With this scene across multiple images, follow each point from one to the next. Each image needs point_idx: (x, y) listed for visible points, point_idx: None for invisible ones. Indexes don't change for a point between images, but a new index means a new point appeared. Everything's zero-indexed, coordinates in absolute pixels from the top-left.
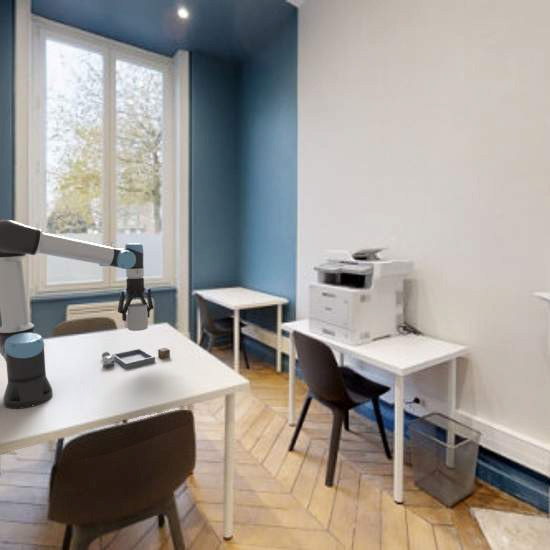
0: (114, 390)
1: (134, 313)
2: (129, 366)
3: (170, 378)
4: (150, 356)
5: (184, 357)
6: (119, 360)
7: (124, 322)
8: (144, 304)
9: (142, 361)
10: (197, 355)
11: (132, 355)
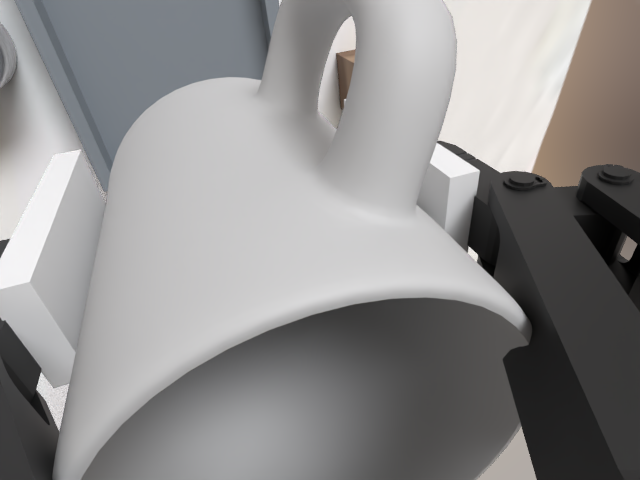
0: (56, 392)
1: (208, 462)
2: None
3: None
4: None
5: (443, 138)
6: (52, 75)
7: (38, 184)
8: (509, 383)
9: None
10: (502, 139)
11: None
